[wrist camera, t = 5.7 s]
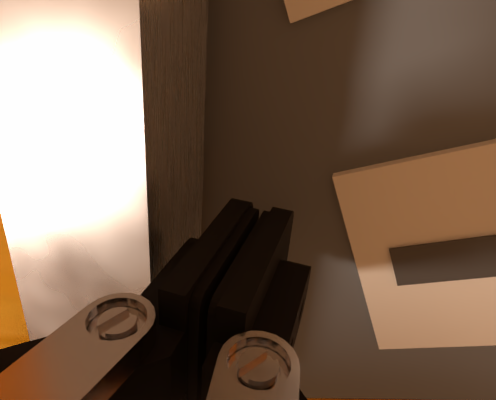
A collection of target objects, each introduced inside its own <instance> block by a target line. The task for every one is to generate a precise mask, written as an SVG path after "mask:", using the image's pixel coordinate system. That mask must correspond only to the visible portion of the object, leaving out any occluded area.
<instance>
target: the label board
mask: <svg viewBox="0 0 496 400" xmlns="http://www.w3.org/2000/svg"><path fill="white" fill-rule="evenodd" d="M231 198H234V199H239V200H244V201H249V202H252V203H253V208H256V209H259V217H260V216H261V214H262V212H263V211H264V210H265V211H270V210H271V209H272V207H277V208H282V209H286V210H291V211H294V218H293V225H292V231H291V238H290V245H289V252H288V258H287V261H291V262H295V263H299V264H303V265H307V266H311V273H310V279H309V284H308V290H307V295H306V300H305V305H304V309H303V313H302V318H301V322H300V325H299V329H298V333H297V337H296V340H295V344H294V348H293V349H294V351H295V352H296V354H297V356H298V358H299V364H300V385H299V388H300V390H301V391H302V393H303V394H304V396H305V397H306V398H341V399H420V400H496V0H208V24H207V58H206V92H205V126H204V160H203V194H202V228H201V235H202V234H203V232H204V231H205V230H206V229H207V228H208V226H209V225H210V224H211V223H212V221H213V220H214V219H215V218H216V216H217V215H218V214H219V213H220V211H221V210H222V209H223V208H224V207H225V205H226V204H227V203H228V202H229V200H230V199H231Z"/></svg>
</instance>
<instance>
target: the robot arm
mask: <svg viewBox="0 0 496 400" xmlns="http://www.w3.org/2000/svg"><path fill="white" fill-rule="evenodd" d="M293 218H294V211H291V210H286V209H282V208H277V207H272V209H271V210H270V211H265V210H264V211H263V212H262V214H261V216H260V217H259V209H256V208H253V203H252V202H249V201H244V200H239V199H234V198H231V199H230V200H229V202H228V203H227V204H226V205H225V207H224V208H223V209H222V210H221V211H220V213H219V214H218V215H217V216H216V218H215V219H214V220H213V221H212V223H211V224H210V225H209V226H208V228H207V229H206V230H205V231H204V232H203V234H202V235H201V236H200V237H199V239H196V238H189V239H188V240H187V241H186V242H185V243H184V244H183V245H182V247H181V248H180V249H179V250H178V251H177V253H176V254H175V255H174V256H173V257H172V258H171V260H170V261H169V262H168V263H167V264H166V265H165V267H164V268H163V269H162V270H161V271H160V272H159V274H158V275H157V276H156V277H155V278H154V279H153V281H152V282H151V283H150V284H149V285H148V286H147V288H146V289H145V290H144V291H143V292H142V293H141V295H137V294H133V293H115V294H109V295H106V296H103V297H101V298H98V299H96V300H95V301H93V302H92V303H90V304H88V305H87V306H86V307H85V308H83V309H82V310H81V311H79V312H78V313H77V314H76V315H74V316H73V317H72V318H70V319H69V320H68V321H67V322H65V323H64V324H63V325H61V326H60V327H59V328H58V329H56V330H55V331H54V332H52V333H51V334H50V335H49V336H47V337H43V338H40V339H36V340H32V341H29V342H25V343H21V344H18V345H14V346H10V347H7V348H3V349H0V400H307V398H306V397H305V396H304V394H303V393H302V391H301V390H300V388H299V385H300V364H299V358H298V356H297V354H296V352H295V351H294V349H293V348H294V344H295V340H296V337H297V333H298V329H299V325H300V322H301V318H302V313H303V309H304V305H305V300H306V295H307V290H308V284H309V279H310V273H311V266H307V265H303V264H299V263H295V262H291V261H287V258H288V252H289V245H290V238H291V231H292V225H293Z"/></svg>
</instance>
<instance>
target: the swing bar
mask: <svg viewBox="0 0 496 400" xmlns="http://www.w3.org/2000/svg"><path fill="white" fill-rule="evenodd" d="M207 24H208V0H0V212H1V217H2V221H3V225H4V230H5V234H6V238H7V243H8V247H9V251H10V255H11V260H12V264H13V268H14V273H15V277H16V281H17V286H18V290H19V294H20V299H21V303H22V307H23V312H24V316H25V320H26V325H27V329H28V333H29V338H30V341H32V340H36V339H40V338H43V337H47V336H49V335H50V334H51V333H52V332H54V331H55V330H56V329H58V328H59V327H60V326H61V325H63V324H64V323H65V322H67V321H68V320H69V319H70V318H72V317H73V316H74V315H76V314H77V313H78V312H79V311H81V310H82V309H83V308H85V307H86V306H87V305H88V304H90V303H92V302H93V301H95V300H96V299H98V298H101V297H103V296H106V295H109V294H115V293H133V294H137V295H141V293H142V292H143V291H144V290H145V289H146V288H147V286H148V285H149V284H150V283H151V282H152V281H153V279H154V278H155V277H156V276H157V275H158V274H159V272H160V271H161V270H162V269H163V268H164V267H165V265H166V264H167V263H168V262H169V261H170V260H171V258H172V257H173V256H174V255H175V254H176V253H177V251H178V250H179V249H180V248H181V247H182V245H183V244H184V243H185V242H186V241H187V240H188V239H189V238H196V239H199V237H200V236H201V228H202V194H203V160H204V126H205V92H206V58H207Z"/></svg>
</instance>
